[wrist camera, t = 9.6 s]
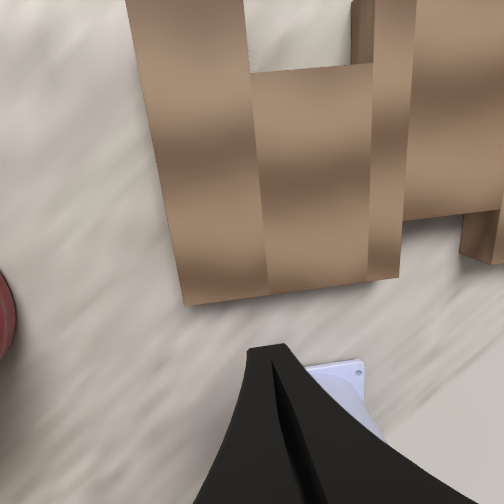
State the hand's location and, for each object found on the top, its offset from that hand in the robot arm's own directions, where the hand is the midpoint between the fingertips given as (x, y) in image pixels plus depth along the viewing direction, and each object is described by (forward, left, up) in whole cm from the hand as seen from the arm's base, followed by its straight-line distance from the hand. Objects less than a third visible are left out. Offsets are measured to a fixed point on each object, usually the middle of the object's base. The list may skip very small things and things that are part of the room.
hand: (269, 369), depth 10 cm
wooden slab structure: (+7, -9, -9) cm, 15 cm away
